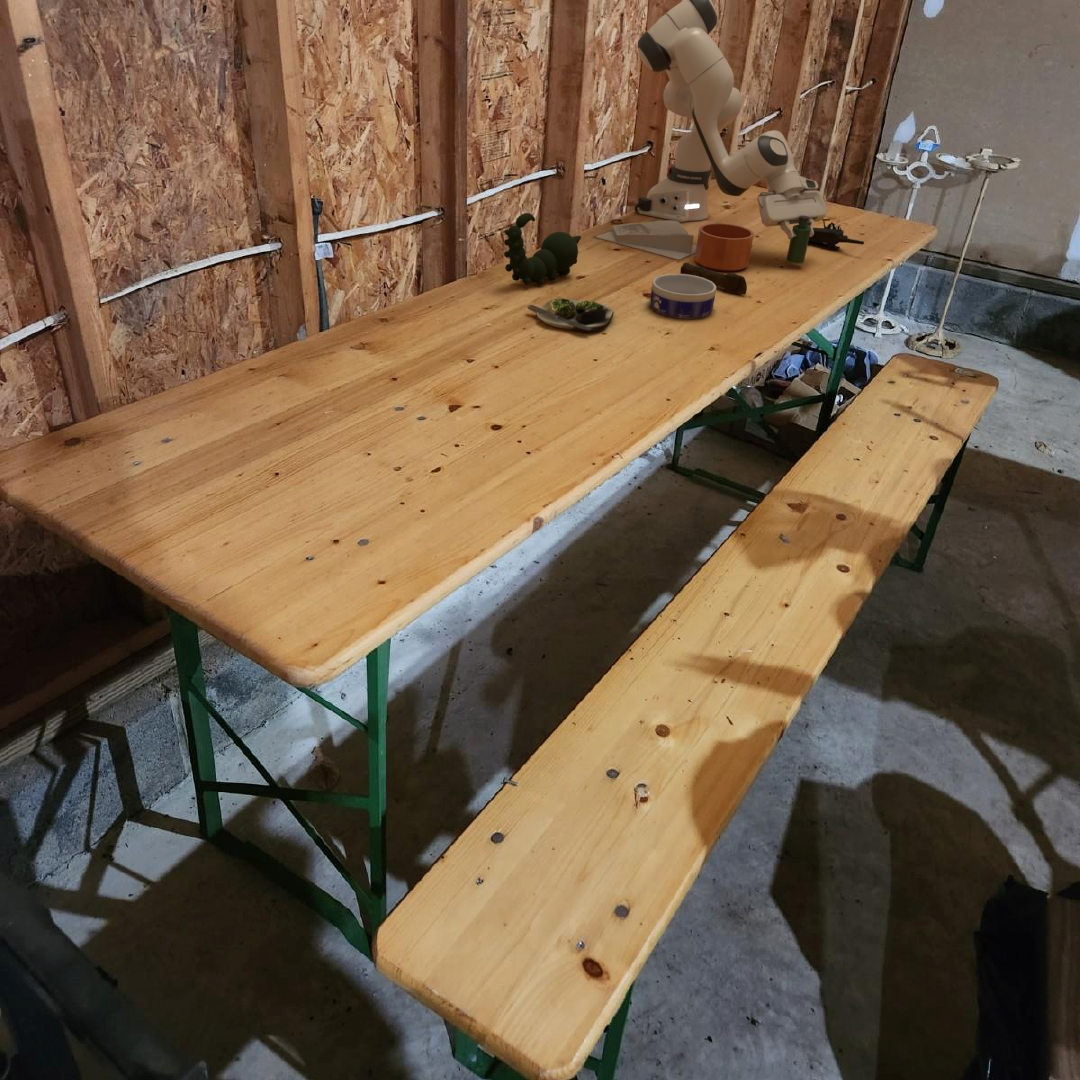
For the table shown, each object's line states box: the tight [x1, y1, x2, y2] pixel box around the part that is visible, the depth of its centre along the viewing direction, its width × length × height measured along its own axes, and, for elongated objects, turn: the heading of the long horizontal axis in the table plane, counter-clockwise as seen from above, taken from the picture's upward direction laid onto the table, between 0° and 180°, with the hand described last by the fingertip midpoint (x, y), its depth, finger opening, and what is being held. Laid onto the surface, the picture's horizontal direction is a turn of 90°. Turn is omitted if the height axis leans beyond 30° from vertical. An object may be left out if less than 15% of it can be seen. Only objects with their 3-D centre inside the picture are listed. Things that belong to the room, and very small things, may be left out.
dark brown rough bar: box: [679, 262, 748, 295], centre depth 237 cm, size 19×4×5 cm, turn 48°
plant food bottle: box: [786, 216, 811, 264], centre depth 252 cm, size 5×5×12 cm
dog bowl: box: [649, 273, 717, 320], centre depth 223 cm, size 15×15×6 cm
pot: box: [694, 222, 755, 272], centre depth 252 cm, size 15×15×9 cm
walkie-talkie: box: [808, 227, 865, 251], centre depth 271 cm, size 6×6×20 cm
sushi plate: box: [526, 297, 615, 334], centre depth 213 cm, size 19×18×5 cm
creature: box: [821, 218, 845, 234], centre depth 283 cm, size 8×5×8 cm
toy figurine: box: [503, 212, 582, 287], centre depth 230 cm, size 9×19×25 cm
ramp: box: [595, 220, 697, 261], centre depth 266 cm, size 28×16×5 cm, turn 53°
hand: (801, 237), depth 251 cm, fingers closed on plant food bottle, 5 cm apart
